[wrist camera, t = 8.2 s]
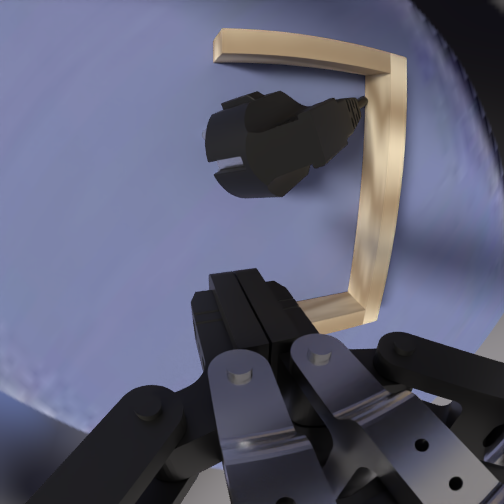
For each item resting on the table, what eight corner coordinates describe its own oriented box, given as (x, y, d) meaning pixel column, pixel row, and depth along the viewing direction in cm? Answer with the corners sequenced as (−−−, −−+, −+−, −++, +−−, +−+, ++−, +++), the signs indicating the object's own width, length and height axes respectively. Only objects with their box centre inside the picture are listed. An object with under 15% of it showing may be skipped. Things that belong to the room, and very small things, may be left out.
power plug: (383, 136, 21) (310, 218, 14) (297, 144, 26) (198, 217, 19) (363, 62, 18) (268, 90, 11) (276, 82, 23) (159, 129, 16)
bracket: (213, 40, 16) (222, 28, 13) (380, 60, 19) (406, 57, 16) (224, 329, 25) (233, 353, 22) (359, 302, 28) (376, 320, 25)
